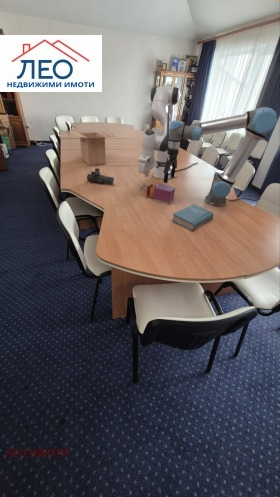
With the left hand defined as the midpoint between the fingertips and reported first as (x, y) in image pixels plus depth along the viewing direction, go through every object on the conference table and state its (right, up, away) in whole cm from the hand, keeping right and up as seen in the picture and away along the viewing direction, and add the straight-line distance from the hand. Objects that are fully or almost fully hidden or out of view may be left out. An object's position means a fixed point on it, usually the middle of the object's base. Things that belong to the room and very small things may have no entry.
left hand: (146, 176), depth 163 cm
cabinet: (+13, -17, +3) cm, 21 cm away
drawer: (+4, -13, +6) cm, 15 cm away
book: (+29, -35, -20) cm, 50 cm away
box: (-55, +40, +73) cm, 100 cm away
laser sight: (-39, +2, +24) cm, 45 cm away
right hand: (+16, -5, -7) cm, 18 cm away
